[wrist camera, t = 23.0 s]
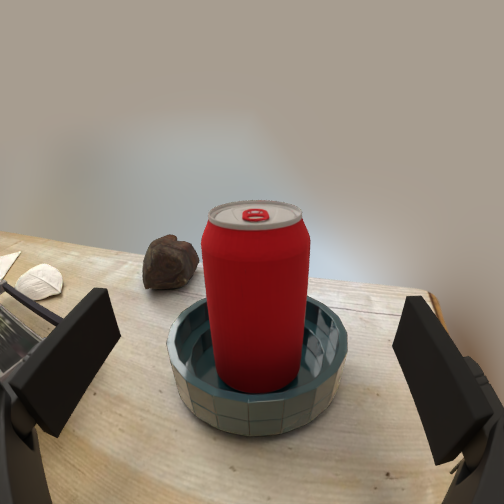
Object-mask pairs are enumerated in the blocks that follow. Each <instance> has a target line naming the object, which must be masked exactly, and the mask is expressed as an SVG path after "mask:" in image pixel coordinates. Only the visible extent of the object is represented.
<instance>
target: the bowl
mask: <svg viewBox="0 0 504 504" xmlns="http://www.w3.org/2000/svg"><path fill="white" fill-rule="evenodd" d="M166 345H167V349H168V354H169V358H170V362H171V366H172V369H173V373H174V377H175V380H176V384H177V387H178V391H179V394H180V397H181V399H182V400H183V402H184V403H185V404H186V405H187V407H188V408H189V409H190V410H191V411H192V413H193V414H194V415H195V416H196V417H198V418H200V419H201V420H203V421H205V422H207V423H208V424H210V425H212V426H213V427H215V428H217V429H219V430H222V431H226V432H230V433H235V434H239V435H244V436H264V435H276V434H283V433H285V432H288V431H291V430H293V429H296V428H298V427H301V426H303V425H306V424H308V423H310V422H311V421H312V420H313V419H314V418H316V417H317V416H318V415H319V414H320V413H322V412H323V411H324V410H325V409H326V408H327V407H328V406H329V405H330V403H331V401H332V399H333V397H334V395H335V393H336V391H337V390H338V387H339V383H340V379H341V376H342V372H343V368H344V364H345V360H346V356H347V352H348V342H347V332H346V330H345V328H344V326H343V324H342V322H341V320H340V318H339V317H338V316H337V315H336V314H335V313H334V312H333V311H332V310H331V309H329V308H328V307H327V306H326V305H324V304H323V303H321V302H319V301H317V300H315V299H313V298H311V297H309V296H307V301H306V312H305V324H304V334H303V344H302V354H301V363H300V369H299V372H298V374H297V376H296V377H295V378H294V380H293V381H291V382H290V383H289V384H288V385H286V386H285V387H283V388H281V389H279V390H276V391H273V392H269V393H261V394H253V393H246V392H242V391H238V390H236V389H234V388H232V387H230V386H229V385H227V384H226V383H225V382H223V380H222V379H221V378H220V377H219V375H218V373H217V371H216V366H215V359H214V352H213V344H212V337H211V329H210V322H209V313H208V305H207V297H206V298H204V299H201V300H199V301H197V302H196V303H194V304H193V305H191V306H190V307H189V308H187V309H186V310H184V311H183V312H182V313H181V314H180V315H179V316H178V318H177V319H176V320H175V321H174V323H173V324H172V325H171V328H170V331H169V335H168V339H167V343H166Z"/></svg>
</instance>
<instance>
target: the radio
mask: <svg viewBox="0 0 504 504" xmlns="http://www.w3.org/2000/svg"><path fill="white" fill-rule="evenodd" d="M5 291H6V292H7V293H8V294H10V295H11V296H12V297H14V298H15V299H16V300H18V301H19V302H20V303H22V304H23V305H24V306H26V307H27V308H29V309H30V310H32V311H33V312H35V313H36V314H37V315H39V316H40V317H42V318H43V319H45V320H46V321H48V322H50V323H51V324H53V325H54V326H57V325H58V324H59V323H60V322H61V321H62V320H63V318H62V317H60V316H58V315H56V314H55V313H53V312H51V311H49V310H48V309H46V308H44V307H43V306H41V305H40V304H38V303H36V302H35V301H33V300H32V299H30V298H28V297H27V296H25V295H24V294H22V293H21V292H19V291H18V290H16V289H15V288H13V287H12V286H10V285H9V284H7V281H6V280H2V281H1V282H0V294H2V293H3V292H5ZM45 339H46V337H44V338H41V337H40V336H39V335H38V334H36V333H35V332H34V331H32V330H31V329H30V328H29V327H27V326H26V325H25V324H24V323H22V322H21V321H20V320H19V319H18V318H16V317H15V316H14V315H13V314H12V313H11V312H9V311H8V310H7V309H6V308H5V307H4V306H3V305H2V304H0V382H1V383H3V382H4V381H5V380H6V378H7V377H8V376H9V375H10V373H11V372H12V371H13V370H14V369H15V367H16V366H17V365H18V364H19V363H20V362H21V361H22V359H23V358H24V357H25V356H26V355H28V352H29V351H30V350H31V349H32V348H33V347H34V346H35V345H36V344H38V343H39V342H41V341H42V340H45Z"/></svg>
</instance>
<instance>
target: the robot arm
mask: <svg viewBox="0 0 504 504" xmlns="http://www.w3.org/2000/svg"><path fill="white" fill-rule="evenodd" d="M120 337H121V334H120V331H119V328H118V325H117V322H116V318H115V315H114V312H113V308H112V305H111V301H110V298H109V294H108V290H107V289H106V288H93V289H92V290H91V291H90V292H89V293H88V294H87V295H86V296H85V297H84V298H83V299H82V300H81V301H80V302H79V303H78V304H77V305H76V306H75V307H74V308H73V310H72V311H71V312H70V313H69V314H68V315H67V316H66V317H65V318H64V319H63V320H62V321H61V322H60V323H59V324H58V325H57V326H56V328H55V329H54V330H53V331H52V332H51V333H50V334H49V335H48V336H47V337H46V339H45V340H42V341H41V342H39V343H38V344H36V345H35V346H34V347H33V348H32V349H31V350H30V351H29V352H28V355H26V356H25V357H24V358H23V359H22V361H21V362H20V363H19V364H18V365H17V366H16V367H15V369H14V370H13V371H12V372H11V373H10V375H9V376H8V377H7V378H6V380H5V381H4V382H3V383H1V382H0V504H52V500H51V497H50V493H49V490H48V486H47V482H46V478H45V473H44V469H43V464H42V459H41V454H40V448H39V442H38V435H37V431H36V429H35V428H34V426H35V424H36V423H37V424H38V425H39V426H40V427H41V429H42V430H43V431H44V432H46V433H48V434H50V435H52V436H54V437H56V438H58V437H59V435H60V433H61V431H62V430H63V428H64V426H65V424H66V423H67V421H68V419H69V418H70V416H71V414H72V413H73V411H74V409H75V408H76V406H77V404H78V403H79V401H80V399H81V398H82V396H83V394H84V393H85V391H86V390H87V388H88V386H89V385H90V383H91V382H92V380H93V378H94V377H95V375H96V374H97V372H98V371H99V369H100V368H101V366H102V364H103V363H104V361H105V360H106V358H107V357H108V355H109V354H110V352H111V351H112V349H113V348H114V346H115V345H116V343H117V342H118V340H119V339H120ZM392 347H393V350H394V352H395V354H396V357H397V359H398V361H399V364H400V366H401V369H402V371H403V374H404V376H405V379H406V381H407V384H408V386H409V389H410V391H411V394H412V397H413V399H414V402H415V405H416V407H417V410H418V413H419V416H420V419H421V422H422V424H423V427H424V430H425V433H426V436H427V439H428V442H429V446H430V449H431V452H432V455H433V459H434V462H435V465H436V466H437V465H440V464H444V463H447V462H450V461H453V460H454V459H455V458H456V457H457V456H458V455H459V454H460V453H461V452H462V454H463V456H464V458H463V459H462V460H461V461H460V462H459V463H458V464H457V465H456V466H455V467H454V468H453V469H452V471H451V472H450V474H453V473H454V472H455V471H456V470H457V472H456V474H455V476H454V479H453V481H452V483H451V485H450V487H449V490H448V492H447V494H446V496H445V498H444V500H443V502H442V504H504V407H503V406H502V404H501V402H500V400H499V398H498V397H497V395H496V393H495V391H494V389H493V388H492V386H491V384H489V381H488V380H487V378H486V376H484V373H483V371H482V369H481V368H480V366H479V365H478V363H476V362H475V361H474V360H473V359H472V358H471V357H469V356H467V357H463V356H462V355H461V353H460V352H459V350H458V348H457V347H456V345H455V344H454V342H453V341H452V339H451V338H450V336H449V335H448V333H447V332H446V330H445V329H444V327H443V326H442V324H441V323H440V321H439V320H438V318H437V317H436V315H435V314H434V313H433V311H432V310H431V308H430V307H429V305H428V304H427V303H426V301H425V300H424V299H423V297H422V296H406V300H405V304H404V308H403V312H402V315H401V319H400V322H399V325H398V329H397V332H396V335H395V339H394V342H393V345H392Z"/></svg>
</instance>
